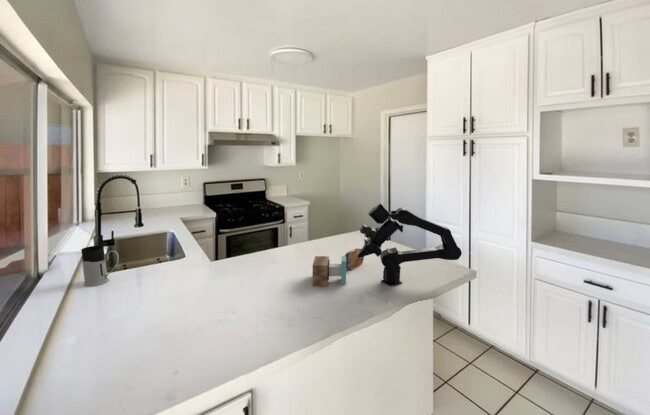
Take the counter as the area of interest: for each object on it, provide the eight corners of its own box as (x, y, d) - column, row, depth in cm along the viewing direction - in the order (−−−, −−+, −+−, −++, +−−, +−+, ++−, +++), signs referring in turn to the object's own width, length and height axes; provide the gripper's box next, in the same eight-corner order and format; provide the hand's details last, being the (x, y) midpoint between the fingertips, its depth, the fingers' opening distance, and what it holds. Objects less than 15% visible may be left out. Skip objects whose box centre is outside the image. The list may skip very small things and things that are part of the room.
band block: (329, 275, 144) (329, 256, 142) (328, 286, 132) (328, 265, 130) (315, 275, 144) (315, 256, 143) (312, 286, 132) (312, 265, 131)
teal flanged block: (345, 277, 141) (346, 256, 139) (345, 283, 134) (346, 261, 132) (326, 276, 141) (326, 255, 140) (325, 283, 134) (325, 261, 133)
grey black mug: (92, 278, 139) (88, 245, 137) (126, 278, 140) (123, 244, 138) (78, 287, 131) (74, 251, 128) (115, 286, 132) (111, 250, 129)
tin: (347, 272, 148) (348, 254, 147) (342, 270, 150) (342, 253, 149) (364, 263, 160) (364, 247, 159) (358, 262, 162) (359, 246, 161)
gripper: (369, 213, 142) (344, 238, 144) (373, 222, 123) (344, 250, 126) (387, 231, 142) (362, 255, 145) (393, 242, 124) (364, 269, 126)
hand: (358, 256), depth 135 cm, fingers closed
